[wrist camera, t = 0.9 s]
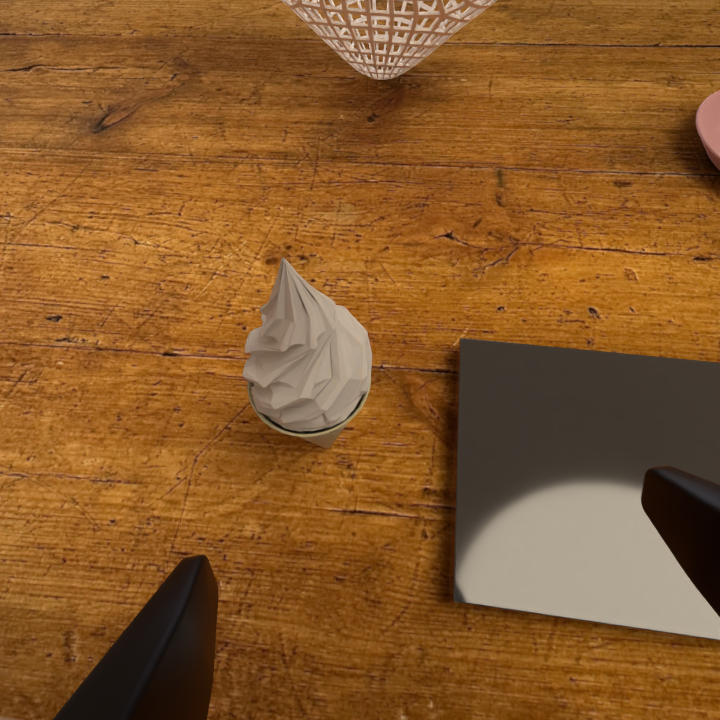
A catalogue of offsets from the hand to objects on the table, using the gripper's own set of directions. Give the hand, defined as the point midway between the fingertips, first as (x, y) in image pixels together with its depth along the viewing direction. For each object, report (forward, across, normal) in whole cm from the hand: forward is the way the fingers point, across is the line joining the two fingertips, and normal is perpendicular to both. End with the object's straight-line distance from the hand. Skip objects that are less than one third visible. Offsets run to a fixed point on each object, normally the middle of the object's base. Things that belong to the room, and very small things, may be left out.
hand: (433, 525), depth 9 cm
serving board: (+11, -14, +11) cm, 20 cm away
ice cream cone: (+15, +2, +8) cm, 17 cm away
